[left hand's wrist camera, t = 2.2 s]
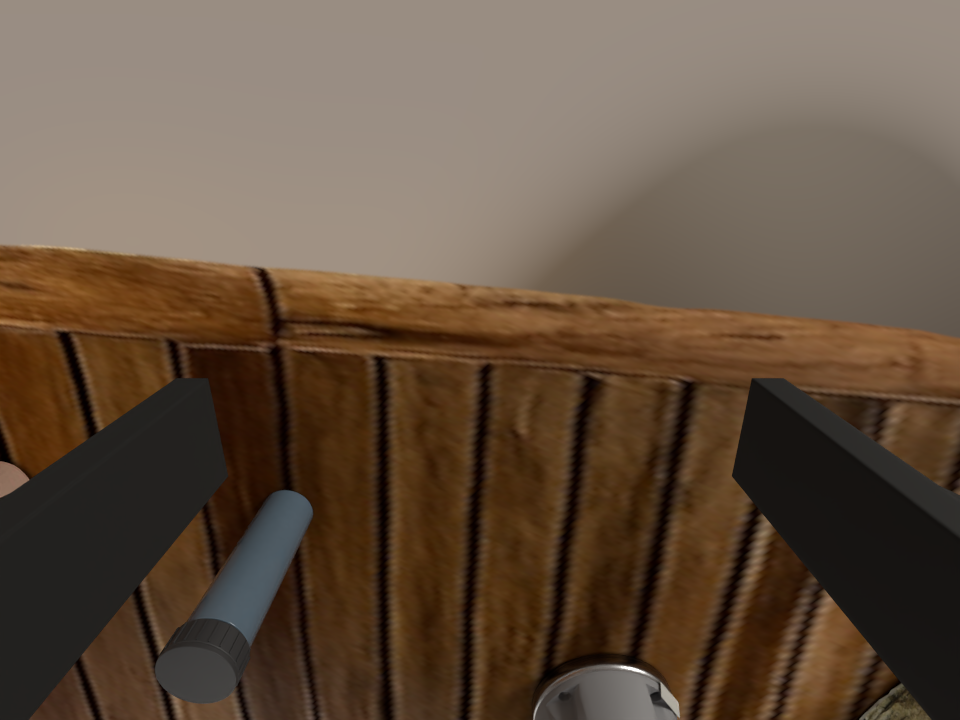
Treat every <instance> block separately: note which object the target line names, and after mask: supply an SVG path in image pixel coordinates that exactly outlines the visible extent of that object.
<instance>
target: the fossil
mask: <svg viewBox="0 0 960 720" xmlns="http://www.w3.org/2000/svg"><path fill="white" fill-rule="evenodd" d="M859 720H931V718H930V717H929V716H928V715H927V714H926V712H925V711H924V710H923V709H922V707H921V706H920V705H919V704H918V703H917V701H916V700H915V699H914V698H913V697H912V695H911V694H910V693H909V692H908V690H907V689H906V688H905V687H904V686H903V684H902V683H901V684H899V685H898V686H897V687H895V688H893V689H892V690H891V691H890V693H889V694H888V695H886V696H885V697H883V698H881V699H880V700H878V701H877V702H876V703H875V704H874V705H873V706H872V707H871V708H870V709H869V710H868V711H867V712H866V713H865V714H864V715H863V716H862V717H861V718H860V719H859Z"/></svg>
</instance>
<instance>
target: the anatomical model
mask: <svg viewBox="0 0 960 720" xmlns="http://www.w3.org/2000/svg"><path fill="white" fill-rule="evenodd" d="M27 481H29V478H28V477H27V476H26V475H25V474H24V473H23V472H22V471H21V470H20V469H19V468H17V467H16V466H14V465H12V464H10V463H6V462H2V461H0V498H1V497H3V496H5V495H7V494H9V493H11V492H13V491H14V490H16V489H17V488H18V487H20V486H21V485H23V484H24V483H26V482H27Z"/></svg>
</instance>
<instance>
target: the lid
mask: <svg viewBox="0 0 960 720" xmlns="http://www.w3.org/2000/svg"><path fill="white" fill-rule="evenodd" d="M250 650H251V649H250V647H249V644H248V641H247V639H246V638H245V636H244V635H243V634H242V633H241V632H240V631H239V630H238V629H236V628H235V627H233V626H232V625H230V624H228V623H225V622H223V621H220V620H215V619H195V620H192V621H189V622H185V624H183V625H182V626H181V627H178V628H177V629H176V631H175V632H174V634H173V635H172V637H171V638H170V640H169V641H168V643H167V644H166V646H165V647H164V649H163V650H162V652H161V653H160V655H159V656H160V657H159V658H158V660H157V662H156V665H155V674H156V677H157V679H158V681H159V683H160V684H161V686H162V687H163V688H164V689H165V690H166V691H168V692H169V693H170V694H172V695H173V696H175V697H177V698H179V699H182V700H185V701H188V702H192V703H201V704H206V703H214V702H218V701H220V700H223V699H225V698H226V697H228V696H229V695H230V694H231V693H232V692H233V690H234V689H235V687H236V686H237V684H238V682H239V680H240V678H241V676H242V674H243V672H244V670H245V668H246V666H247V663H248V661H249V659H250V657H249V656H250Z"/></svg>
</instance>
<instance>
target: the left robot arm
mask: <svg viewBox="0 0 960 720" xmlns="http://www.w3.org/2000/svg"><path fill="white" fill-rule="evenodd" d="M227 477H228V473H227V469H226V464H225V459H224V454H223V449H222V444H221V439H220V434H219V430H218V425H217V420H216V415H215V410H214V405H213V400H212V395H211V391H210V386H209V381H208V378H176V379H175V380H173V381H172V382H170V383H169V384H168V385H166V386H165V387H163V388H162V389H160V390H159V391H157V392H156V393H154V394H153V395H152V396H150V397H149V398H147V399H146V400H144V401H143V402H141V403H140V404H139V405H137V406H136V407H134V408H133V409H131V410H130V411H128V412H127V413H126V414H124V415H123V416H121V417H120V418H118V419H117V420H115V421H114V422H113V423H111V424H110V425H108V426H107V427H105V428H104V429H102V430H101V431H99V432H98V433H97V434H95V435H94V436H92V437H91V438H89V439H88V440H86V441H85V442H84V443H82V444H81V445H79V446H78V447H76V448H75V449H73V450H72V451H71V452H69V453H68V454H66V455H65V456H63V457H62V458H60V459H59V460H58V461H56V462H55V463H53V464H52V465H50V466H49V467H47V468H46V469H45V470H43V471H42V472H40V473H39V474H37V475H36V476H34V477H33V478H31V479H30V480H29V481H27V482H26V483H24V484H23V485H21V486H20V487H18V488H17V489H16V490H14V491H13V492H11V493H9V494H7V495H5V496H3V497H1V498H0V720H29V718H30V717H31V716H32V715H33V714H34V712H35V711H36V710H37V709H38V707H39V706H40V705H41V704H42V703H43V701H44V700H45V699H46V698H47V697H48V695H49V694H50V693H51V692H52V690H53V689H54V688H55V687H56V686H57V684H58V683H59V682H60V681H61V679H62V678H63V677H64V676H65V675H66V673H67V672H68V671H69V670H70V668H71V667H72V666H73V665H74V664H75V662H76V661H77V660H78V659H79V657H80V656H81V655H82V654H83V653H84V651H85V650H86V649H87V648H88V646H89V645H90V644H91V643H92V642H93V640H94V639H95V638H96V637H97V635H98V634H99V633H100V632H101V631H102V629H103V628H104V627H105V626H106V624H107V623H108V622H109V621H110V620H111V618H112V617H113V616H114V615H115V613H116V612H117V611H118V610H119V609H120V607H121V606H122V605H123V604H124V603H125V601H126V600H127V599H128V598H129V596H130V595H131V594H132V593H133V592H134V590H135V589H136V588H137V587H138V585H139V584H140V583H141V582H142V581H143V579H144V578H145V577H146V576H147V574H148V573H149V572H150V571H151V570H152V568H153V567H154V566H155V565H156V563H157V562H158V561H159V560H160V559H161V557H162V556H163V555H164V554H165V552H166V551H167V550H168V549H169V548H170V546H171V545H172V544H173V543H174V541H175V540H176V539H177V538H178V537H179V535H180V534H181V533H182V532H183V530H184V529H185V528H186V527H187V526H188V524H189V523H190V522H191V521H192V520H193V518H194V517H195V516H196V515H197V513H198V512H199V511H200V510H201V509H202V507H203V506H204V505H205V504H206V502H207V501H208V500H209V499H210V498H211V496H212V495H213V494H214V493H215V491H216V490H217V489H218V488H219V487H220V485H221V484H222V483H223V482H224V480H225V479H226V478H227ZM732 477H733V478H734V479H735V480H736V482H737V483H738V484H739V485H740V487H741V488H742V489H743V490H744V491H745V493H746V494H747V495H748V496H749V498H750V499H751V500H752V501H753V502H754V504H755V505H756V506H757V507H758V509H759V510H760V511H761V512H762V513H763V515H764V516H765V517H766V518H767V520H768V521H769V522H770V523H771V524H772V526H773V527H774V528H775V529H776V530H777V532H778V533H779V534H780V535H781V537H782V538H783V539H784V540H785V541H786V543H787V544H788V545H789V546H790V548H791V549H792V550H793V551H794V552H795V554H796V555H797V556H798V557H799V559H800V560H801V561H802V562H803V563H804V565H805V566H806V567H807V568H808V570H809V571H810V572H811V573H812V574H813V576H814V577H815V578H816V579H817V581H818V582H819V583H820V584H821V585H822V587H823V588H824V589H825V590H826V592H827V593H828V594H829V595H830V596H831V598H832V599H833V600H834V601H835V603H836V604H837V605H838V606H839V607H840V609H841V610H842V611H843V612H844V614H845V615H846V616H847V617H848V618H849V620H850V621H851V622H852V623H853V624H854V626H855V627H856V628H857V629H858V631H859V632H860V633H861V634H862V635H863V637H864V638H865V639H866V640H867V642H868V643H869V644H870V645H871V646H872V648H873V649H874V650H875V651H876V653H877V654H878V655H879V656H880V657H881V659H882V660H883V661H884V662H885V664H886V665H887V666H888V667H889V668H890V670H891V671H892V672H893V673H894V675H895V676H896V677H897V678H898V679H899V681H900V682H901V683H902V684H903V686H904V687H905V688H906V689H907V690H908V692H909V693H910V694H911V695H912V697H913V698H914V699H915V700H916V701H917V703H918V704H919V705H920V706H921V707H922V709H923V710H924V711H925V712H926V714H927V715H928V716H929V717H930V718H931V720H960V495H958V494H956V493H954V492H951V491H949V490H947V489H945V488H943V487H941V486H939V485H937V484H936V483H934V482H933V481H931V480H930V479H929V478H927V477H926V476H924V475H923V474H921V473H920V472H918V471H917V470H915V469H914V468H913V467H911V466H910V465H908V464H907V463H905V462H904V461H902V460H901V459H900V458H898V457H897V456H895V455H894V454H892V453H891V452H889V451H888V450H887V449H885V448H884V447H882V446H881V445H879V444H878V443H876V442H875V441H874V440H872V439H871V438H869V437H868V436H866V435H865V434H863V433H862V432H861V431H859V430H858V429H856V428H855V427H853V426H852V425H850V424H849V423H847V422H846V421H845V420H843V419H842V418H840V417H839V416H837V415H836V414H834V413H833V412H832V411H830V410H829V409H827V408H826V407H824V406H823V405H821V404H820V403H819V402H817V401H816V400H814V399H813V398H811V397H810V396H808V395H807V394H806V393H804V392H803V391H801V390H800V389H798V388H797V387H795V386H794V385H792V384H791V383H790V382H788V381H787V380H785V379H784V378H752V381H751V386H750V391H749V395H748V400H747V405H746V410H745V415H744V420H743V425H742V430H741V434H740V439H739V444H738V449H737V454H736V459H735V464H734V469H733V473H732ZM532 715H533V720H677V716H678V717H679V718H680V715H679V703H678V701H677V700H676V699H675V698H674V697H673V696H672V694H671V691H670V688H669V686H668V683H667V681H666V680H665V678H664V677H663V676H662V675H661V673H660V672H659V671H657V670H656V669H655V668H654V667H652V666H651V665H649V664H647V663H646V662H643V661H641V660H639V659H636V658H633V657H629V656H624V655H617V654H598V655H590V656H585V657H581V658H578V659H575V660H572V661H569V662H567V663H565V664H563V665H561V666H559V667H558V668H556V669H554V670H553V671H552V672H550V673H549V674H548V675H547V676H546V677H545V678H544V679H543V680H542V681H541V683H540V684H539V685H538V687H537V689H536V691H535V693H534V696H533V700H532Z"/></svg>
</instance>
